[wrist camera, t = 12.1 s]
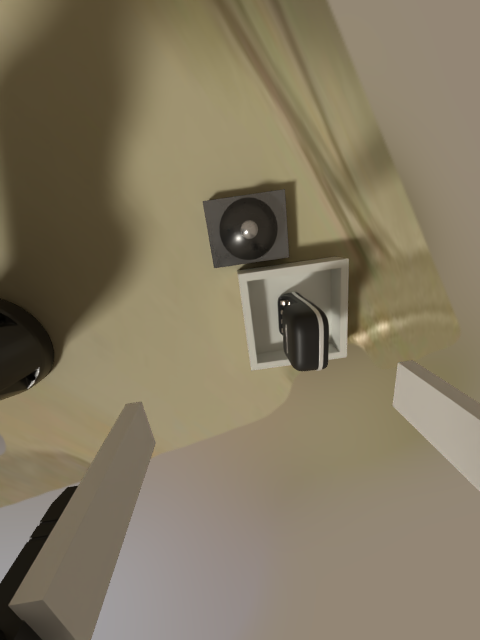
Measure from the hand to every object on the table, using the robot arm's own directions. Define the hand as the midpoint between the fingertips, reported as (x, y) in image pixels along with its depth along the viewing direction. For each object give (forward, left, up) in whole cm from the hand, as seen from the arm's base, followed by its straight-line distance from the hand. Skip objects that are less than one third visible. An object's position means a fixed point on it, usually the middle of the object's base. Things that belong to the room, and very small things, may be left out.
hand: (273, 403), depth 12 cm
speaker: (+1, +9, -23) cm, 25 cm away
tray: (+6, -3, -23) cm, 24 cm away
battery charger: (+6, -3, -23) cm, 23 cm away
